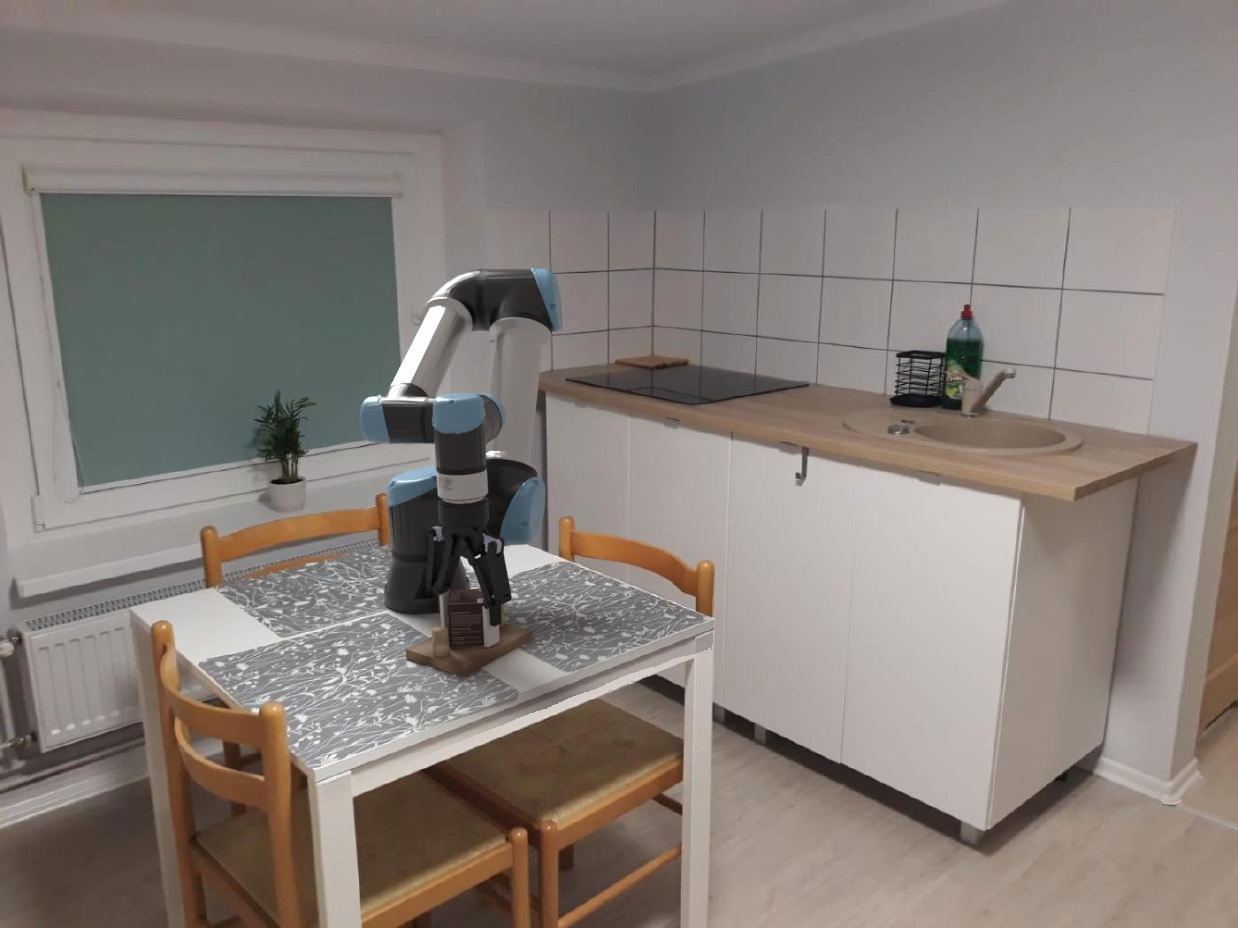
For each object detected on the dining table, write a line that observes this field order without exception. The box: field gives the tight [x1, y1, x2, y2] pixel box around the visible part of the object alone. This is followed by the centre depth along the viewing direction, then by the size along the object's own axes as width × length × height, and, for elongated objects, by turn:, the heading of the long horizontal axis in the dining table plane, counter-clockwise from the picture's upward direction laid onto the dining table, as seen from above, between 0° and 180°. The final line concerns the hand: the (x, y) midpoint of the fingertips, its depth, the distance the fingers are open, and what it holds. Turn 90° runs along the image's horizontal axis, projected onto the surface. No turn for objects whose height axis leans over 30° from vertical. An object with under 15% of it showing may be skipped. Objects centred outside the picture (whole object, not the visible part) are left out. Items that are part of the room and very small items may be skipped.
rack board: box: [405, 603, 534, 678], centre depth 153 cm, size 12×16×6 cm
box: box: [447, 588, 487, 648], centre depth 152 cm, size 6×6×7 cm
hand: (470, 637), depth 153 cm, fingers closed on box, 8 cm apart
